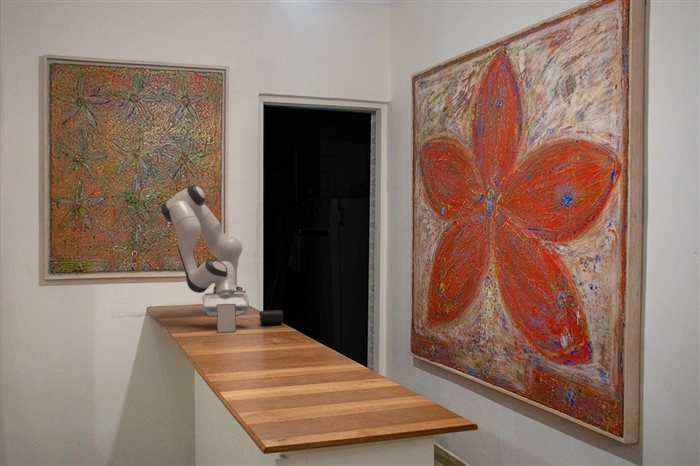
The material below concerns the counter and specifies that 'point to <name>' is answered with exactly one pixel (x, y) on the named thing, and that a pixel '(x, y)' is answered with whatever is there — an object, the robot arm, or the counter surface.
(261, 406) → the counter surface
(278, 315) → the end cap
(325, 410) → the counter surface
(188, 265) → the robot arm
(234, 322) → the slate tile
